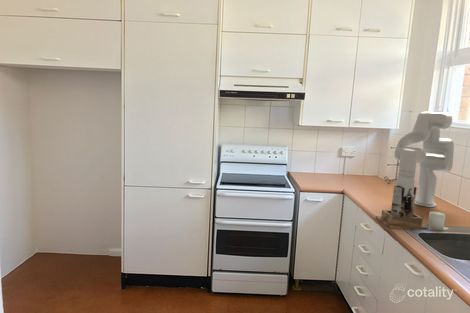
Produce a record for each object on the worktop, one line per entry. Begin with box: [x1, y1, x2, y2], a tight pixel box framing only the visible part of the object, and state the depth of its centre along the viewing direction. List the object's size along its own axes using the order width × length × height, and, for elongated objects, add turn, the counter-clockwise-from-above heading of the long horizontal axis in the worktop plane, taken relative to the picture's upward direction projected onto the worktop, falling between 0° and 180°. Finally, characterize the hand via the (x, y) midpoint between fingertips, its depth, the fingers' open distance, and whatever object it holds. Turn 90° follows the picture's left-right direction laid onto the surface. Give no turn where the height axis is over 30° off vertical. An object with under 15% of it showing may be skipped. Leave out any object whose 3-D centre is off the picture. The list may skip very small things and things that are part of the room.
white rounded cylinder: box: [427, 211, 446, 230], centre depth 175 cm, size 7×7×7 cm
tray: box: [375, 209, 429, 230], centre depth 178 cm, size 16×19×5 cm
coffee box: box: [390, 185, 417, 217], centre depth 177 cm, size 9×6×16 cm
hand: (402, 206), depth 178 cm, fingers closed on coffee box, 8 cm apart
